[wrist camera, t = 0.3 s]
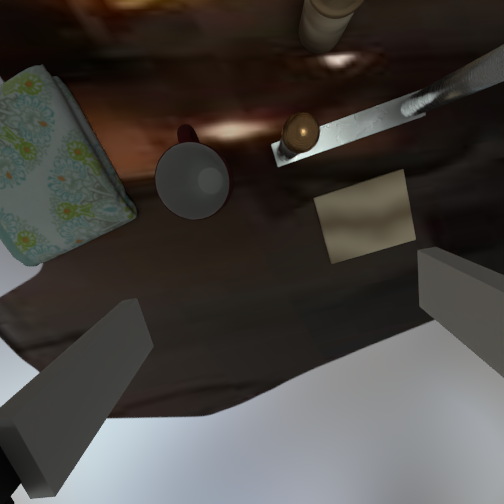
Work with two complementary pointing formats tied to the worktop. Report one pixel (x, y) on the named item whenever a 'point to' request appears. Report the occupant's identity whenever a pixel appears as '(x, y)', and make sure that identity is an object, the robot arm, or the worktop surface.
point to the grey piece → (385, 111)
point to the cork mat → (365, 216)
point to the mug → (193, 178)
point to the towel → (52, 172)
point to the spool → (325, 23)
